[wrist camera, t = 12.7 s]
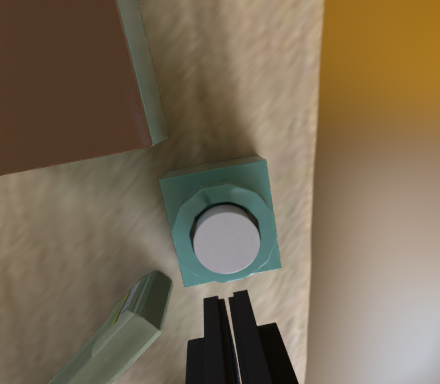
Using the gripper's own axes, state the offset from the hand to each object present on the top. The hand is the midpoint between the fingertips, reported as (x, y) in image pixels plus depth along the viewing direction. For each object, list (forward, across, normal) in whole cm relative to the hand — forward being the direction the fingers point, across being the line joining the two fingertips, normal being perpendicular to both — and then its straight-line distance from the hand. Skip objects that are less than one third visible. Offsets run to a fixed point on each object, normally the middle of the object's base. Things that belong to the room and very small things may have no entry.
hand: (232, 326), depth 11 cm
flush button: (+10, 0, +1) cm, 10 cm away
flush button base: (+14, 0, +1) cm, 14 cm away
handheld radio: (+14, +16, +13) cm, 25 cm away
